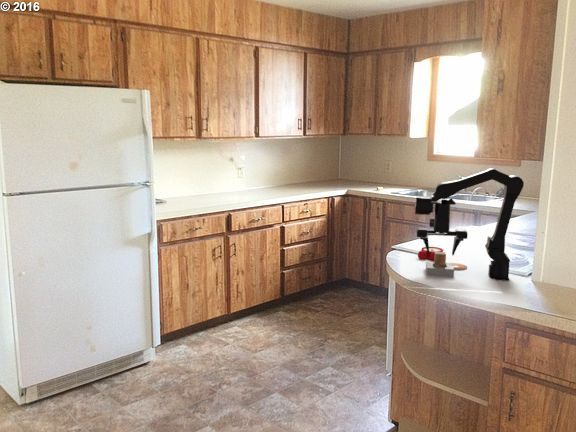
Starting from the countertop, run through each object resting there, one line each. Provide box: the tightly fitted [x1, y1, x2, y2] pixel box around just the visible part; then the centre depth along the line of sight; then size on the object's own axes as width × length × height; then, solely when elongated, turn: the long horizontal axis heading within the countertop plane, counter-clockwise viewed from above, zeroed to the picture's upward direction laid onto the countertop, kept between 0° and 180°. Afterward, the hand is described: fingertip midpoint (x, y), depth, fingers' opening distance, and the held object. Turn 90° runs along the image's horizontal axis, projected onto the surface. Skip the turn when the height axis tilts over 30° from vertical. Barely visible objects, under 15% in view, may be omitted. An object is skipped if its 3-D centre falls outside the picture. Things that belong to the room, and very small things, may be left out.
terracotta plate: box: [451, 262, 468, 271], centre depth 216 cm, size 9×9×1 cm
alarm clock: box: [417, 246, 445, 261], centre depth 232 cm, size 10×6×15 cm
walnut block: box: [433, 251, 447, 267], centre depth 207 cm, size 4×4×8 cm
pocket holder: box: [425, 261, 455, 278], centre depth 208 cm, size 10×10×4 cm
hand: (440, 254), depth 207 cm, fingers open, 9 cm apart
